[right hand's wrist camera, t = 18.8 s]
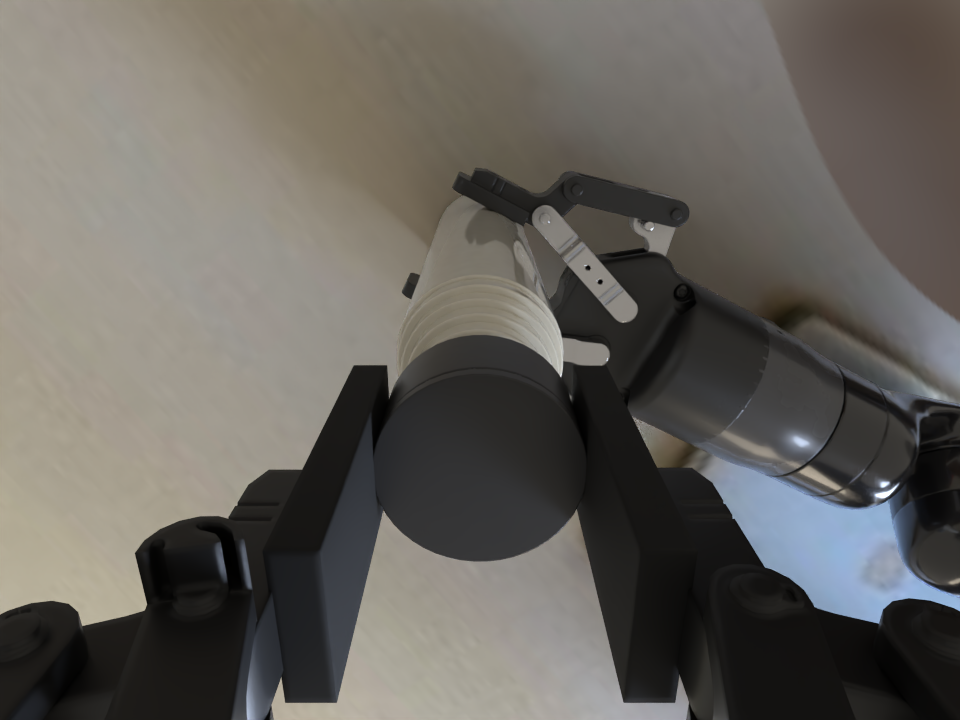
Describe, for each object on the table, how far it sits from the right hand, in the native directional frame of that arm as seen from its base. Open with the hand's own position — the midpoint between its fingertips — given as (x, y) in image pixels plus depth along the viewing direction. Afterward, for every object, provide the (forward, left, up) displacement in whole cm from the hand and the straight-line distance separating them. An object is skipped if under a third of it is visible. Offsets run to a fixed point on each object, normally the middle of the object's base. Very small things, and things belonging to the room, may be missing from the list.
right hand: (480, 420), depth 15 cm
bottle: (0, 0, -24) cm, 24 cm away
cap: (0, 0, +2) cm, 2 cm away
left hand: (-2, -2, -18) cm, 18 cm away
